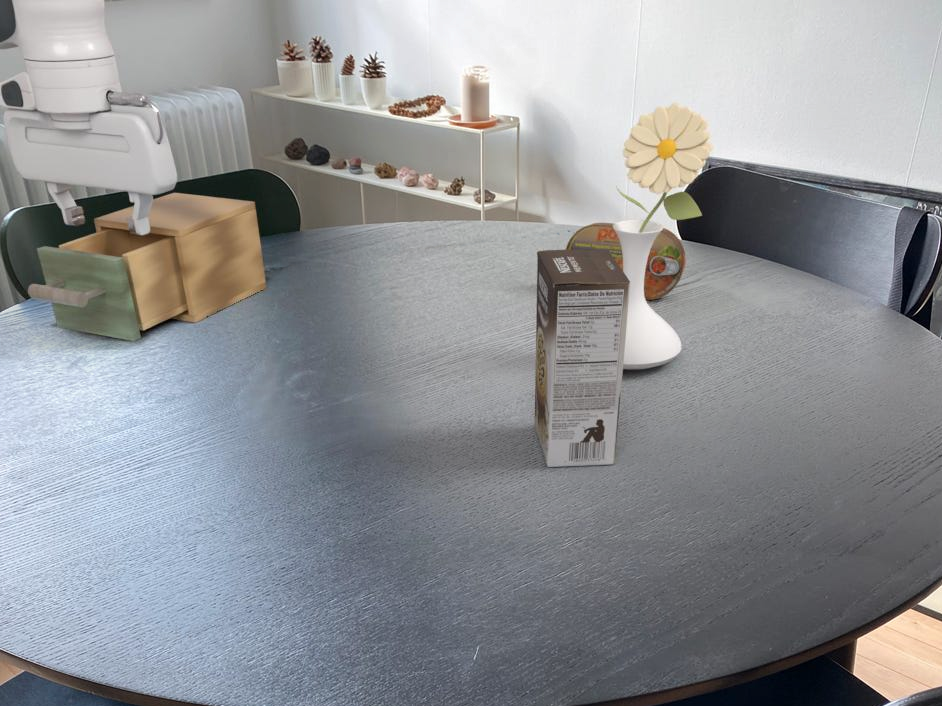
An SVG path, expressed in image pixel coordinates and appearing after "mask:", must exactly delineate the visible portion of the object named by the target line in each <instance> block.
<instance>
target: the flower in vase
mask: <svg viewBox="0 0 942 706" xmlns="http://www.w3.org/2000/svg"><path fill="white" fill-rule="evenodd" d="M708 124H709V123H708V120H706V119H704V118H703V115H702V114H701V113H696V112H695V111H694V110H692V108H691V107H689V106H685V107H684V106H682V105H681V106H680V104H679V103H678V102H673V103H671V104H670V105H669V106H665V107H664V106H661V105H659V106H657V107H655V108H654V110H653V112H650V113H648V114H646V113H643V114H641V115H640V116H639V118H638V121H637V123H636V125H633V126H632V127H631V129H630V134H629V136H628V139H626V140H625V141H624V145H623V147H624V148H623V150H622V157H624V158H625V161H624V166H625V167H626V168H627V169H628V171H627V173H626V177H627V178H628V179H629V180H631V182H632V183H633V184H638V186H639V188H641V189H644V188H645V189H647V188H648V190H649V192H650V193H653V194H656V195H661V194H662V196H661V197H660V199H659V200H658V202H657V203H656V204H655V206H654V207H653V209H652V210H651V211H650V212H649V211H647V210H646V208H645V207H644V206H643V205H642V204H641V203H640V202H639V201H637V200H636V199H634V198H632V197H630V196H628V195H626V194H624V193H623V192H622V191H621V190H620V189H619V187H618V186H617V185H615V186H616V190H617V191H618V193H619V194H620V195H621V196H622V197H623V198H625V199H626V200H628V201H629V202H631V203H633V204H634V205H636V206H638V207H639V208H641V210H643V211H644V212H646V213H647V214H648V215H647V216H646V218H645V219H626V220H621V221H617V222H615V223H613V224H614V225H613V229H614V230H615V232H616V234H617V235H618V238H619V240H620V243H621V247H622V255H623V272H624V273H625V275H626V276H627V278H628V279H629V281H630V290H629V303H628V315H627V327H626V339H625V351H624V362H623V370H646V369H651V368H656V367H659V366H662V365H665V364H668V363H670V362H672V361H673V360H675V359H676V357H678V355H679V354H680V352H681V351H682V348H683V347H682V342H681V339H680V336H679V335H678V334H677V332H676V331H675V330H674V328H673V327H672V326H671V325H670V324H669V323H668V322H667V321H665V319H664V318H662V317H661V316H660V315H659V314H658V313H657V312H656V311H655V310H654V309H653V308H652V307H651V306H650V305H649V303H648V302H647V300H645V297H644V277H645V269H646V264H647V259H648V256H649V252H650V249H651V247H652V244H653V242H654V240H655V239H656V237H657V236H658V234H659V233H660V232H661V231H662V229H663V228H664V226H663V225H662V224H661V223H659V222H656V221H653V220H651V218H652V217H653V216H654V214H655V213H656V212H657V210H658V209H659V208H660V207H661V205H663V207H664V210H665V211H666V214H667V215H668V217H669V218H670V219H671V220H674V221H683V220H688V219H694V218H699V217H702V216H703V214H702V212H701V210H700V208H699V206H698V204H697V203H696V202H695V200H694V199H693V197H692V196H691V195H690V194H689V193H688V192H687V191H678V192H675V193H673V194H670V195H668V196H667V194H668V193H669V192H671V191H672V189H676V188H684V187H686V185H690V184H692V183H693V182H694V181H695V179H696V178H697V177H698V175H699V170H701V169H702V168H704V167H705V166H706V163H707V162H706V160H707V159H708V158H709V157H710V154H711V152H712V151H713V144H712V143H711V142H710V141H709V140H710V138H711V133H710V131H709V130H707V128H708ZM662 203H663V204H662Z"/></svg>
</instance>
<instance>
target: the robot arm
mask: <svg viewBox="0 0 942 706" xmlns="http://www.w3.org/2000/svg"><path fill="white" fill-rule="evenodd" d="M105 8H106V4H105V0H0V50H9V49H14V48H19V50H20V51H21V53H22V57H23V61H24V66H25V69H26V70H24V71H21V72H20V73H18V74H16V75H13V76H12V77H9V78H7V79H5V80H3V81H1V82H0V106H1V107H2V108H4V109H5V110H4V113H3V126H4V127H3V128H4V133H5V136H6V141H7V145H8V148H9V152H10V156H11V159H12V163H13V165H14V167H15V169H16V170H17V172H18V173H19V174H20V176H21V177H22V178H23V179H25V180H27V181H37V182H44V183H45V184H46V187H47V191H48V193H49V195H50V196H51V197H52V199H53V200H54V202H55V203H56V205H57V207H58V208H59V209H60V210H61V214H62V218H63V222H64V224H65V225H67V226H73V227H79V226H81V225H84V224H85V223H86V217H85V215H84V208H83V206H79V205H77V204H76V202H75V199H74V198H73V196H72V194H71V193H70V190H72V186H77V187H87V188H95V189H103V190H111V191H118V192H126V193H127V194H128V196H129V197H128V198H129V202H130V203H133V204H134V205H133V206H134V210H133V215H132V216H131V217H128V218H127V223H128V225H129V231H130V233H131V234H136V235H145V234H148V233H149V232H150V225H149V220H148V215H149V212H150V209H151V205H152V202H153V199H154V196H157V195H161V194H164V193H167V192H170V191H172V190H174V189H175V187H176V186H177V182H178V173H177V167H176V163H175V160H174V156H173V151H172V148H171V144H170V141H169V138H168V134H167V132H166V128H165V127H164V124H163V120H162V114H161V111H160V110H159V107H157V106H156V104H154V102H152V101H151V100H150V99H148V97H147V96H146V95H145V94H143V93H127V92H123V90H122V84H121V81H120V76H119V75H120V74H119V70H118V66H117V65H118V64H117V61H116V55H115V50H114V47H113V46H112V43H111V41H110V38H109V36H108V33H107V30H106V29H107V28H106V25H105Z"/></svg>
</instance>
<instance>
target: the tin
mask: <svg viewBox="0 0 942 706" xmlns="http://www.w3.org/2000/svg"><path fill="white" fill-rule="evenodd" d="M614 224H615V223H611V222H594V223H591V224H588V225H585V226H583V227H581V228H579V229H577V230H576V232H574V233H573V234H572V236H571V237H570V238H569V240H568V243H567V245H566V248H565V249H571V250H586V251H591V250H609V251H610V253H611V254H612V256H613V257H614V259H615V260H616V262H617V263H618V265H619V266H620V268H621V269H622V271H623V255H622V247H621V243H620V240H619V238H618V235H617V234H616V232H615V230H614V229H613V225H614ZM685 269H686V252H685V248H684V246H683V243H682V242H681V240H680V239H679V237H678V236H677V235H676V234H675V233H674V232H672V231H671V230H669V229H668V228H664V227H663V229H662V231H661V232H660V233H659V234H658V236H657V237H656V239H655V240H654V242H653V244H652V247H651V249H650V252H649V256H648V259H647V264H646V269H645V277H644V297H645V300H646V301H652V300H658V299H661V298H663V297H665V296H667V295H668V294H669V293H671V292H672V291H673V290H674V289H675V287H676V286H677V285H678V284H679V282H680V280H681V279H682V277H683V274H684V272H685Z"/></svg>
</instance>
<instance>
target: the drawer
mask: <svg viewBox="0 0 942 706" xmlns="http://www.w3.org/2000/svg"><path fill="white" fill-rule="evenodd" d="M36 251H37V255H38V259H39V262H40V267H41V271H42V275H43V278H44V282H45V284H39V283H31V284H30V285H29V286H28V288H27V294H28V296H29V298H31V299H32V300H37V301H41V302H48V303H51V307H52V311H53V315H54V319H55V322H56V325H57V328H61V329H66V330H72V331H76V332H81V333H82V332H83V333H87V334H93V335H99V336H103V337H109V338H110V337H111V338H115V339H120V340H121V339H122V340H126V341H131V342H135V341H137V340H139V339H141V338H142V337H141V331H146V330H147V329H150V328H152V327H155V326H156V325H158V324H161V323H163V322H165V321H167V320H170V318H171V317H174V316H176V315H178V314H180V313H182V312H184V311H186V310H188V307H187V301H186V296H185V290H184V285H183V280H182V274H181V269H180V264H179V258H178V253H177V248H176V242H175V236H168V235H160V234H153V233H148V234H145V235H136V234H131V233H130V231H129V230H123V229H116V228H108V229H105V230H103V231H100V232H93V233H91V234H88V235H85V236H83V237H79V238H77V239H74V240H70V241H68V242H65V243H62V244H59V245H58V247H53V246H46V245H44V246H41V247H37V248H36Z"/></svg>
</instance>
